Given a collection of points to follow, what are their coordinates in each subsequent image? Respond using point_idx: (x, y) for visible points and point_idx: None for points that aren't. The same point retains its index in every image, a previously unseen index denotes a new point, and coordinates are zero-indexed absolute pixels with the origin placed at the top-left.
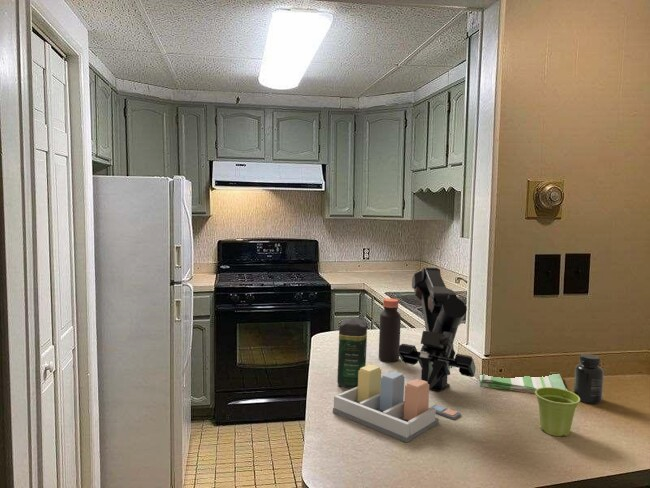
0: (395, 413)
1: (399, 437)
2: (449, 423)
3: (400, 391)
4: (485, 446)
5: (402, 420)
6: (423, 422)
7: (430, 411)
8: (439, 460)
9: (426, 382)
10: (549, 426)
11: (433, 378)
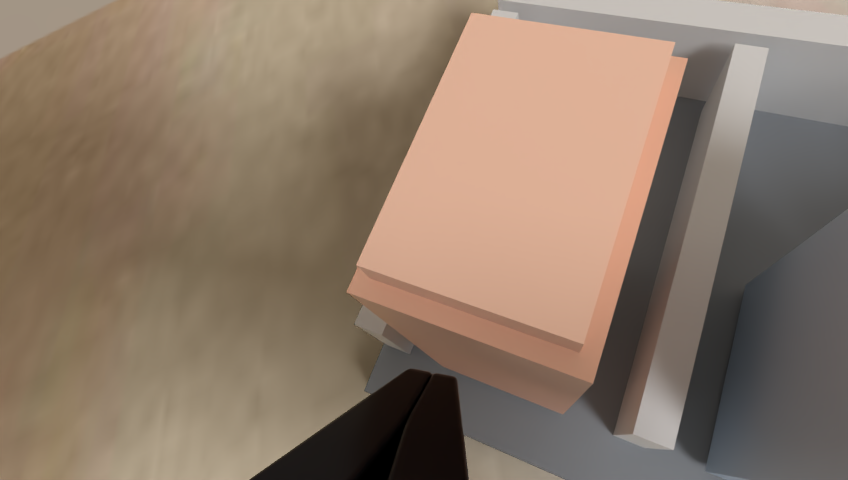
0: (686, 194)
1: None
2: (300, 422)
3: (809, 399)
4: (130, 213)
5: (558, 5)
6: None
7: None
8: (338, 3)
9: (375, 227)
10: None
11: (263, 471)
